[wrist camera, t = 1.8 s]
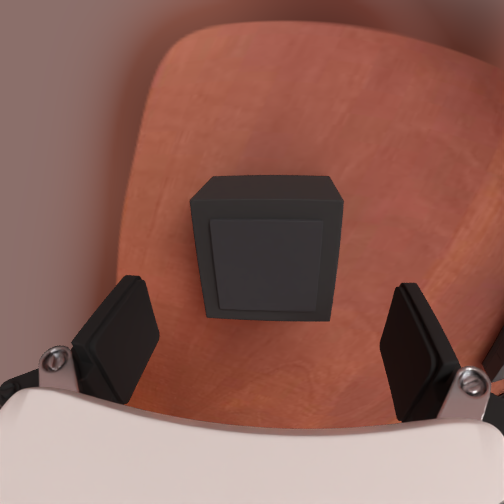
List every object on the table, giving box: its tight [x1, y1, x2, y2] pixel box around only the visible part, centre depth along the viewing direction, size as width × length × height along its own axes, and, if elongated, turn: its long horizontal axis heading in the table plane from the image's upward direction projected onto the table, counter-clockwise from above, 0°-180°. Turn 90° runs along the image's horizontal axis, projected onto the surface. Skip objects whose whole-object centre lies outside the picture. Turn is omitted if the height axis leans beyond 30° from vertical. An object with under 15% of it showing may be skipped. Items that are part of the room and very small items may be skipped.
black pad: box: [190, 175, 344, 321], centre depth 14 cm, size 6×6×4 cm
